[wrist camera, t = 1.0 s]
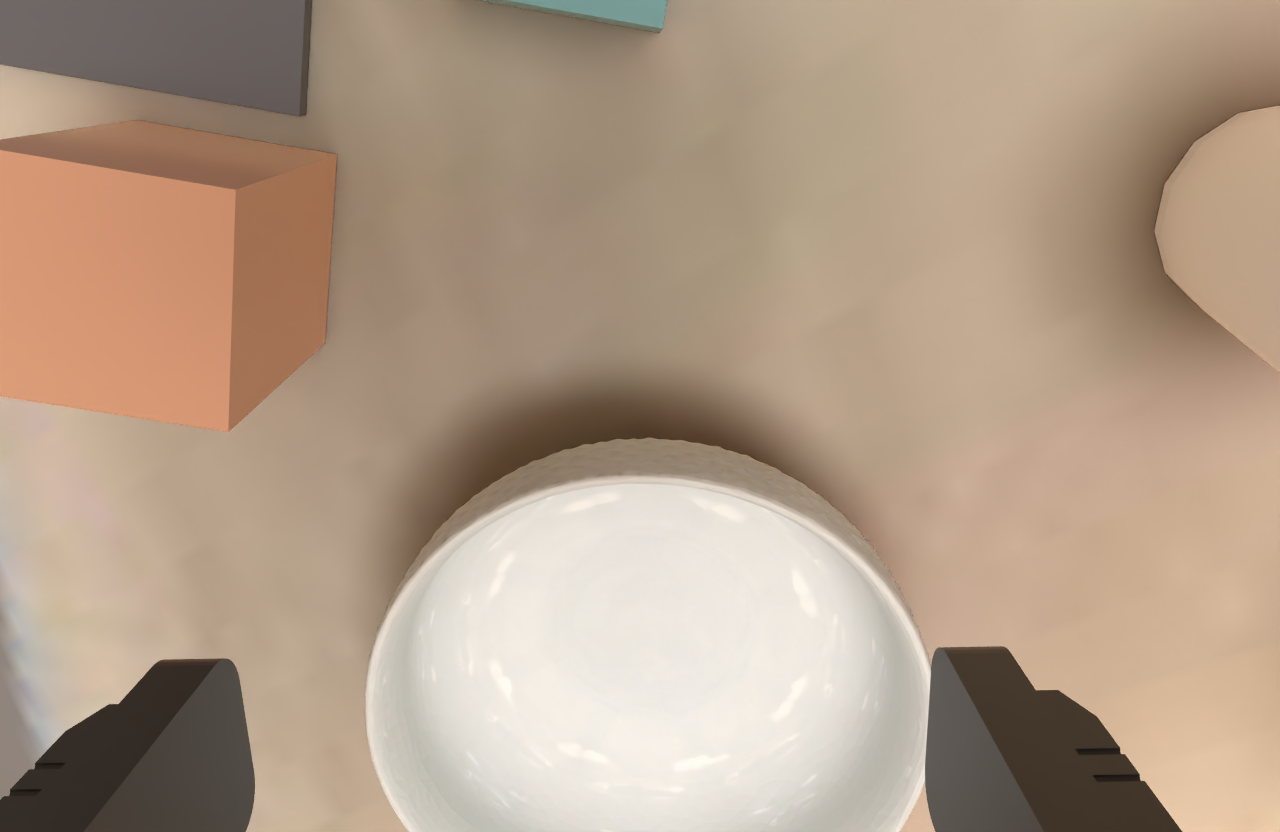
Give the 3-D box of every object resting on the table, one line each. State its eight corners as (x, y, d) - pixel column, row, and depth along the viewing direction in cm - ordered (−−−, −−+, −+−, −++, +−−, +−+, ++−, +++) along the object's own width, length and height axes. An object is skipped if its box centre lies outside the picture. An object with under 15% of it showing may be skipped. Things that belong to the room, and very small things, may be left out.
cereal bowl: (316, 608, 36) (242, 736, 29) (644, 282, 32) (643, 345, 25) (654, 872, 40) (655, 1037, 33) (985, 613, 36) (1061, 742, 29)
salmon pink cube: (136, 120, 30) (-33, 144, 23) (337, 154, 31) (235, 190, 23) (136, 312, 32) (-19, 393, 25) (325, 343, 33) (228, 432, 25)
